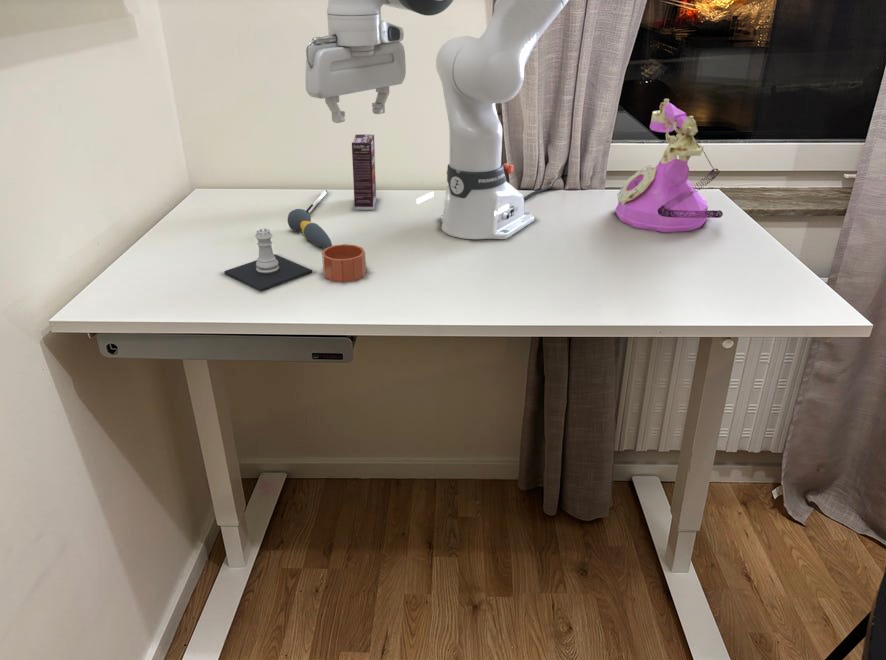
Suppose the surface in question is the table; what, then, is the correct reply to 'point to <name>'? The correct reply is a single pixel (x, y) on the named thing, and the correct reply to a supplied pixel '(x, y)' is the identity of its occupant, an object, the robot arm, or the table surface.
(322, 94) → the robot arm
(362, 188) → the supplement box
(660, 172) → the telephone
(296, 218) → the paintbrush
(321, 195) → the pen
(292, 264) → the pad
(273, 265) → the rook chess piece
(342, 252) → the brown hollow cylinder
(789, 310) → the table surface
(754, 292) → the table surface
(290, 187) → the table surface
